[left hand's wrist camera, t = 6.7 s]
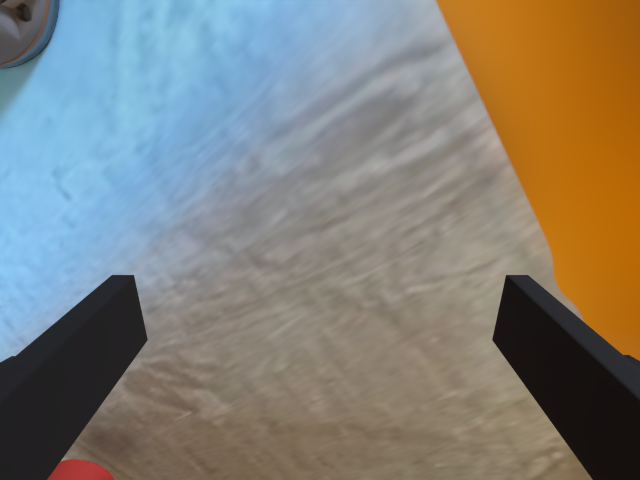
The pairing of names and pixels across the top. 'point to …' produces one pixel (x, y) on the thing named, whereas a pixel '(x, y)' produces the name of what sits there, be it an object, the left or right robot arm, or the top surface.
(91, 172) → the top surface
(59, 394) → the left robot arm
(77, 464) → the can
